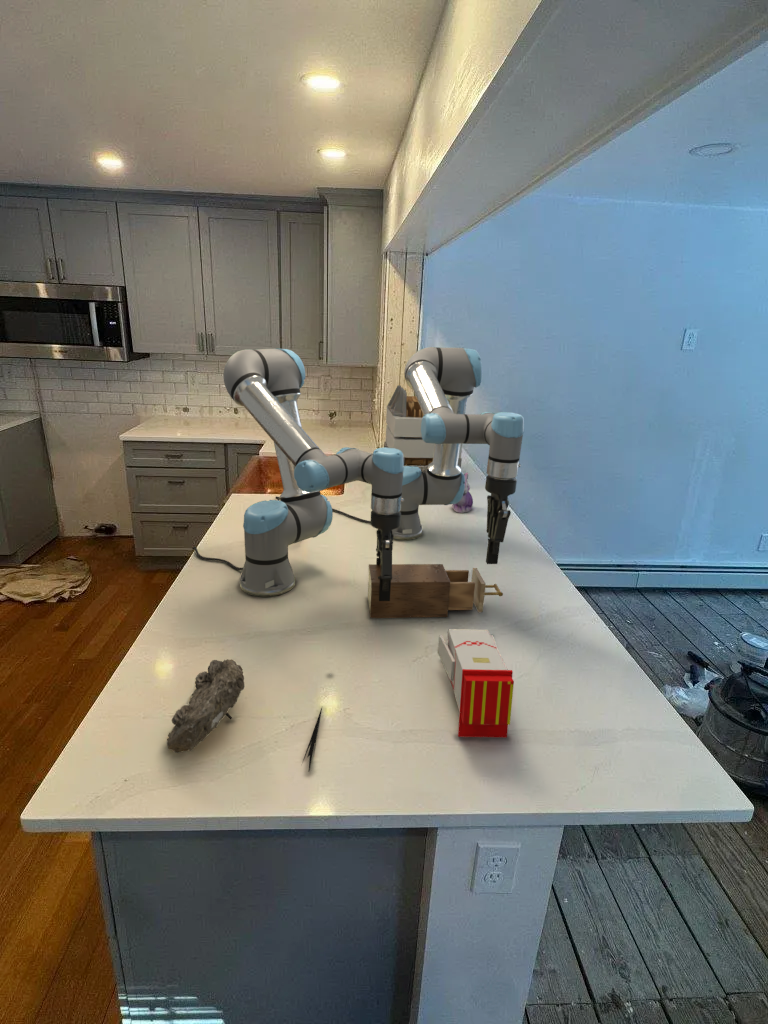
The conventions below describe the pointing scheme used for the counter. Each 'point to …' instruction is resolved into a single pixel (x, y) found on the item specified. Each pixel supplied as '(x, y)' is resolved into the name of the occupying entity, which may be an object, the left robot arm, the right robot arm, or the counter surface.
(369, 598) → the cabinet
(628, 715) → the counter surface
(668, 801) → the counter surface
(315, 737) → the feather
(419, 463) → the transformer
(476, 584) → the drawer
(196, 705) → the fossil
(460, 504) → the figurine
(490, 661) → the white and red box
